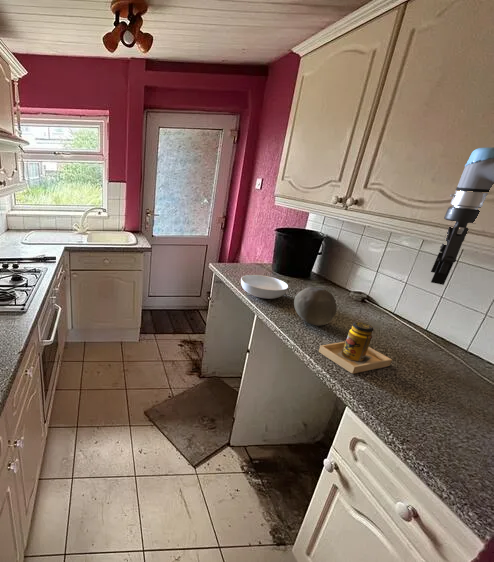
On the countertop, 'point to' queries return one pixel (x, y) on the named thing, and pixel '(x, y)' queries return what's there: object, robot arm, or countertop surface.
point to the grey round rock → (315, 305)
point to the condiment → (357, 343)
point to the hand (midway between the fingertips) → (436, 278)
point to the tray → (373, 363)
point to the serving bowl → (263, 286)
